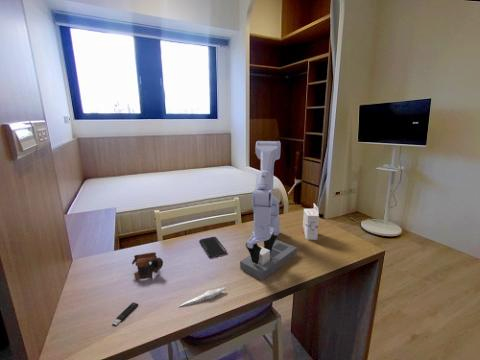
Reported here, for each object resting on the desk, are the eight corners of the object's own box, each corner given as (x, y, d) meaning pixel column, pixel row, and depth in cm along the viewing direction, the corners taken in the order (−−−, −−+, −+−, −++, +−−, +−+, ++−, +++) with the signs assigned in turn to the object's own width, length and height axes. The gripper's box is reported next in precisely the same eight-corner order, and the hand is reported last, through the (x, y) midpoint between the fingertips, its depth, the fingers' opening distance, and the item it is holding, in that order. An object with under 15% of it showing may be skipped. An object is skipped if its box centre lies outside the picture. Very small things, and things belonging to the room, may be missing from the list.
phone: (215, 236, 111) (227, 252, 97) (215, 238, 111) (227, 254, 98) (198, 239, 107) (208, 256, 94) (198, 242, 108) (208, 259, 94)
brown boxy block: (126, 281, 82) (125, 256, 84) (144, 277, 91) (143, 254, 93) (156, 277, 79) (155, 251, 82) (172, 273, 88) (170, 249, 90)
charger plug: (259, 260, 92) (260, 246, 90) (269, 264, 89) (269, 250, 87) (252, 265, 88) (252, 250, 87) (262, 270, 86) (262, 255, 84)
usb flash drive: (117, 327, 64) (116, 324, 64) (111, 325, 65) (111, 322, 64) (138, 306, 71) (138, 303, 71) (133, 304, 72) (132, 301, 72)
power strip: (275, 245, 103) (276, 239, 102) (296, 254, 96) (296, 247, 96) (240, 268, 88) (240, 261, 87) (261, 280, 81) (262, 272, 80)
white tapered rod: (224, 288, 78) (223, 283, 77) (227, 294, 75) (226, 289, 75) (176, 306, 72) (176, 301, 71) (178, 312, 69) (178, 307, 69)
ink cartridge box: (301, 231, 116) (303, 202, 112) (312, 231, 116) (314, 202, 112) (306, 240, 108) (308, 208, 104) (317, 240, 108) (320, 208, 104)
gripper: (264, 214, 92) (264, 246, 95) (239, 226, 82) (240, 262, 85) (280, 218, 88) (279, 252, 91) (256, 233, 77) (256, 270, 80)
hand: (261, 257), depth 88 cm, fingers open, 7 cm apart
